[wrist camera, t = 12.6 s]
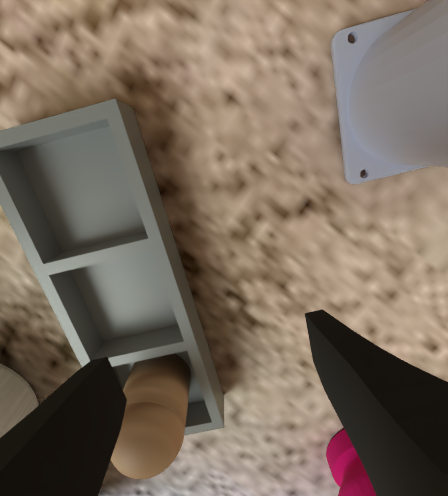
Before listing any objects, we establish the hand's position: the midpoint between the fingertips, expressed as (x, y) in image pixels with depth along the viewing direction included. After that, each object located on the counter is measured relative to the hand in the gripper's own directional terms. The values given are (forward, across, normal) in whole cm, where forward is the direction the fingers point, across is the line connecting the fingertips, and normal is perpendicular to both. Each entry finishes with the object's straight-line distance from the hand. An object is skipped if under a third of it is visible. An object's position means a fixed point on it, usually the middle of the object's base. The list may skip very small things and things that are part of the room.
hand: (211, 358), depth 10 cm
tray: (+9, +6, 0) cm, 11 cm away
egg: (+9, +6, +7) cm, 13 cm away
